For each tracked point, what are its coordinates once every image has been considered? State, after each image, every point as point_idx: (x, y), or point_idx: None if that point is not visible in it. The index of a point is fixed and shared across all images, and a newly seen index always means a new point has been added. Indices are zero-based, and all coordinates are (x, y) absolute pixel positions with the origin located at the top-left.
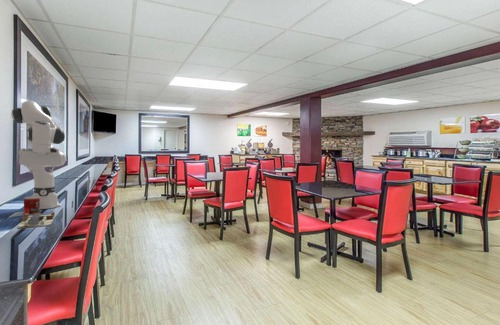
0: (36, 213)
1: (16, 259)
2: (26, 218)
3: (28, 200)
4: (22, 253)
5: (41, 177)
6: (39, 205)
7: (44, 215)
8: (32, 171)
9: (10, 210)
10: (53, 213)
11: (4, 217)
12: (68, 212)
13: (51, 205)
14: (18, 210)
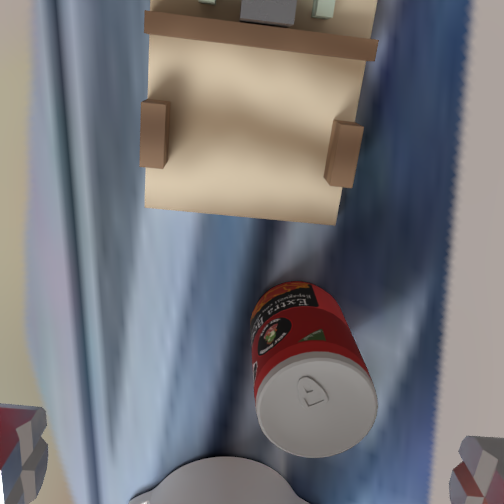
0: (276, 11)
1: None
2: (344, 36)
3: (341, 350)
4: None
5: None
6: (253, 350)
7: (217, 194)
8: (484, 465)
9: (401, 489)
10: (145, 101)
11: (446, 310)
12: (62, 293)
13: (180, 484)
14: (363, 474)
